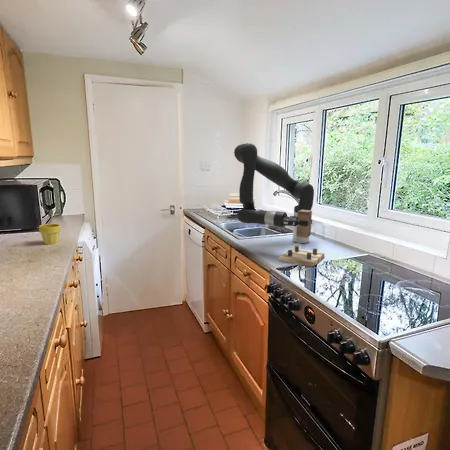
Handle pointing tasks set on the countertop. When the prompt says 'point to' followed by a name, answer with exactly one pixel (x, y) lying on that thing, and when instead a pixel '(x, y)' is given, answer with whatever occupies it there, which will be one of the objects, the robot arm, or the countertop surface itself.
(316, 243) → the countertop surface
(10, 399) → the countertop surface
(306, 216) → the walnut block
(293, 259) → the wooden peg board
